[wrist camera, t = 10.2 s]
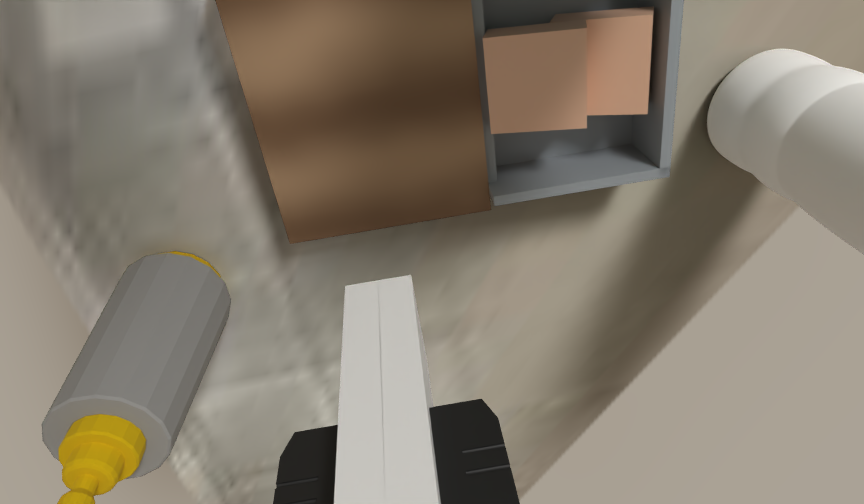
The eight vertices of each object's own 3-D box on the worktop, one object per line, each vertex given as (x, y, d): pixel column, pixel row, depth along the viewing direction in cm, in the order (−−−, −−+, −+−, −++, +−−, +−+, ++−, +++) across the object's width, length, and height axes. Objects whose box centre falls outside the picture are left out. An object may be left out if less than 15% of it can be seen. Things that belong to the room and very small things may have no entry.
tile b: (653, 14, 28) (654, 6, 30) (549, 22, 30) (555, 14, 32) (647, 114, 31) (648, 101, 33) (552, 116, 33) (557, 104, 34)
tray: (457, -59, 30) (470, -53, 26) (649, -90, 30) (691, -89, 26) (480, 174, 37) (494, 206, 33) (637, 148, 37) (669, 176, 33)
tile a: (487, 29, 31) (482, 38, 29) (585, 19, 30) (586, 27, 28) (494, 121, 33) (491, 133, 32) (585, 114, 32) (586, 128, 30)
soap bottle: (191, 345, 41) (88, 607, 26) (102, 286, 38) (-75, 544, 23) (258, 288, 39) (189, 534, 24) (170, 221, 36) (27, 454, 21)
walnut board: (218, -42, 29) (204, -37, 27) (454, -81, 29) (463, -79, 27) (295, 220, 37) (290, 243, 34) (482, 188, 37) (491, 210, 35)
